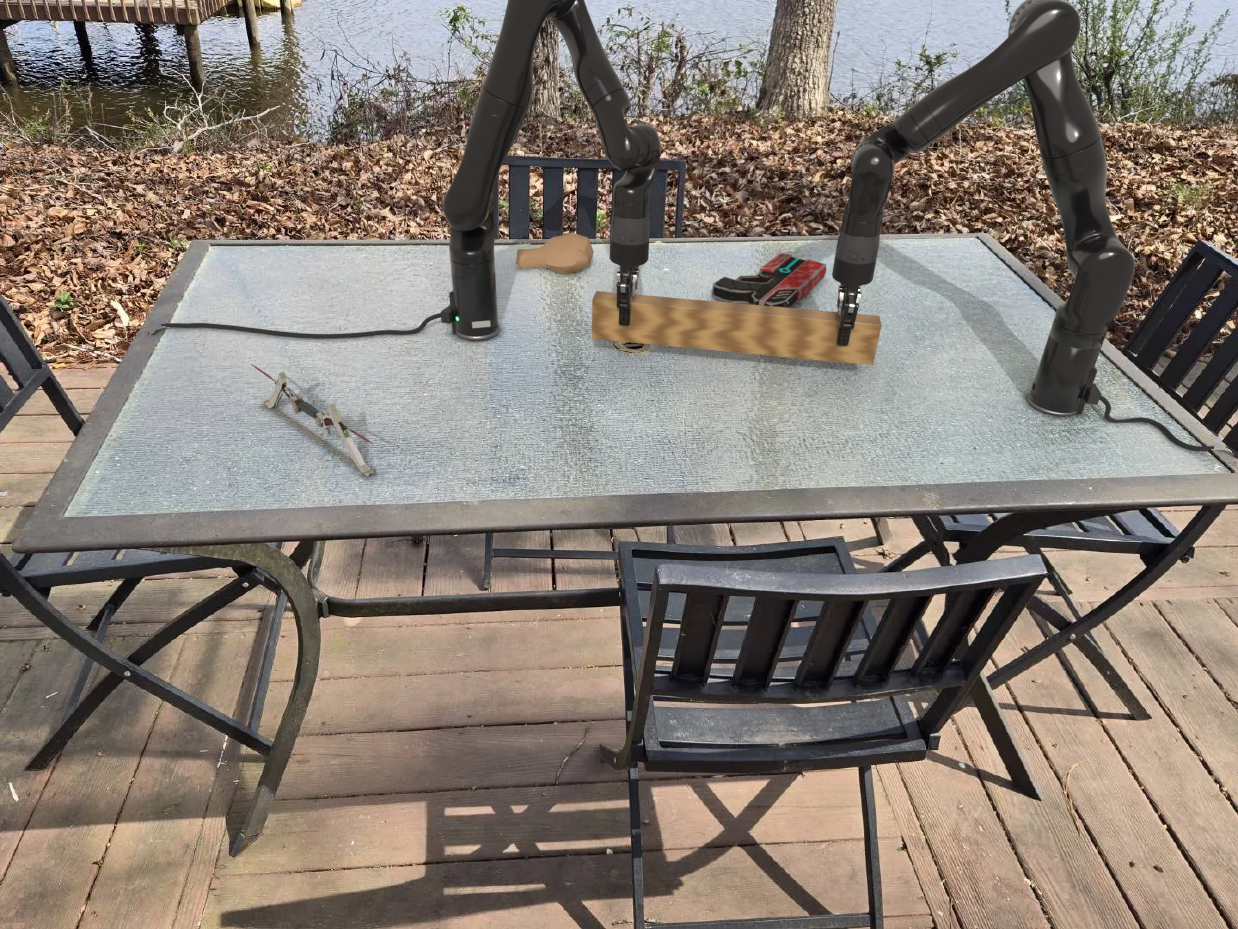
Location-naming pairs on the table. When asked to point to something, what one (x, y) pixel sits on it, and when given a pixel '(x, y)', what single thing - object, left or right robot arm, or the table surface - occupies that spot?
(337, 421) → the bow
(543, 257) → the squash
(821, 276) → the gun
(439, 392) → the table surface
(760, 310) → the post
